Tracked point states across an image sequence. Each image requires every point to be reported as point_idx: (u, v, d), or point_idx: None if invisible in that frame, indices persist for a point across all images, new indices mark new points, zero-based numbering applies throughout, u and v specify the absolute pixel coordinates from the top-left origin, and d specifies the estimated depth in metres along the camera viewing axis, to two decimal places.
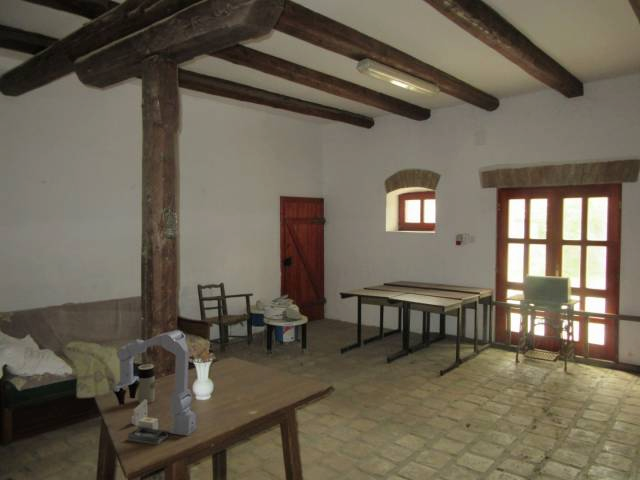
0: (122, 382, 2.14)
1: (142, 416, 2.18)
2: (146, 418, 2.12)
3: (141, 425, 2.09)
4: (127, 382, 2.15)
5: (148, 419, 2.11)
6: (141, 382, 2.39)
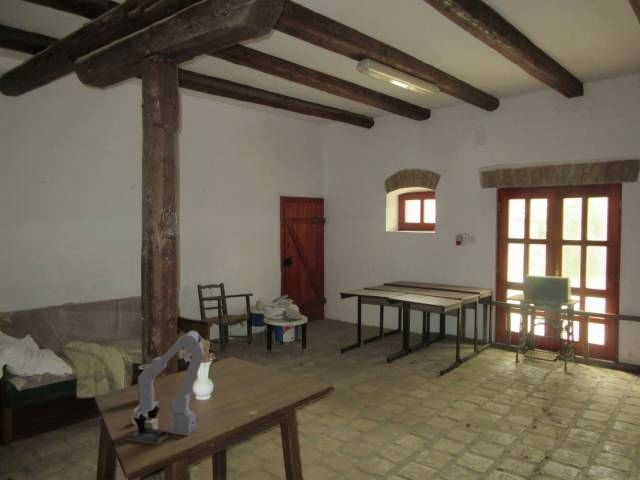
0: (142, 408, 2.06)
1: None
2: (146, 418, 2.12)
3: None
4: (147, 408, 2.06)
5: (148, 419, 2.11)
6: None
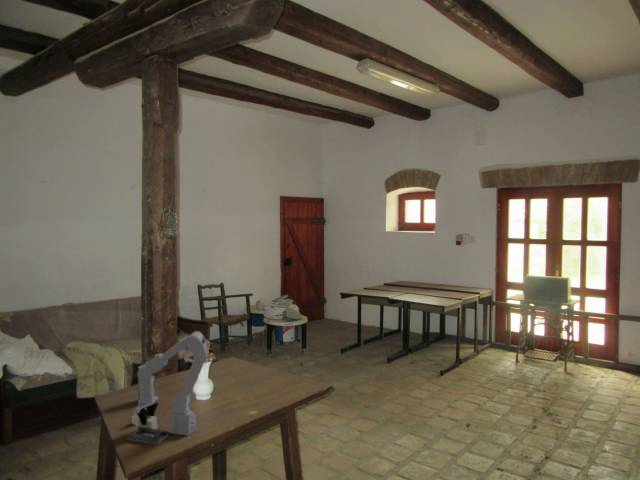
0: (142, 403, 2.06)
1: None
2: None
3: (140, 424, 2.08)
4: (147, 403, 2.06)
5: None
6: None
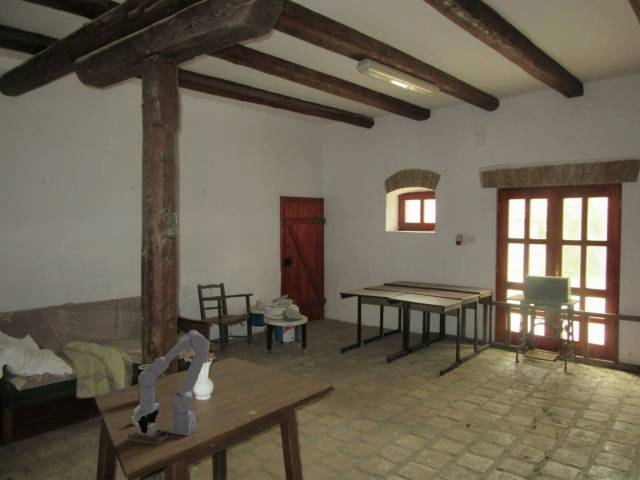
0: (143, 410, 2.00)
1: None
2: None
3: (139, 430, 2.02)
4: (148, 410, 2.00)
5: None
6: None
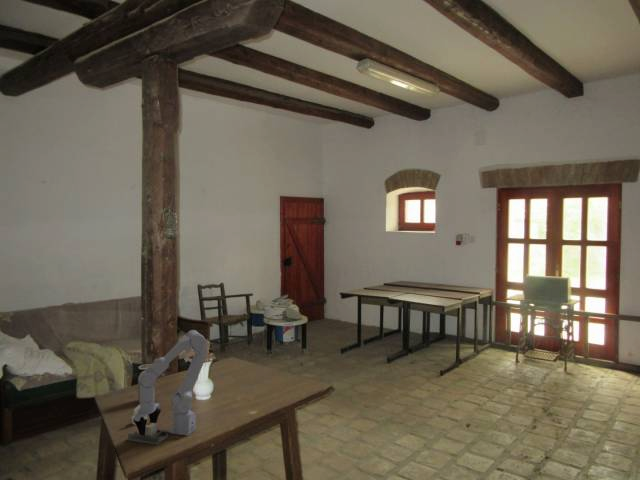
0: (143, 410, 2.00)
1: None
2: None
3: None
4: (148, 410, 2.00)
5: (147, 423, 2.04)
6: None
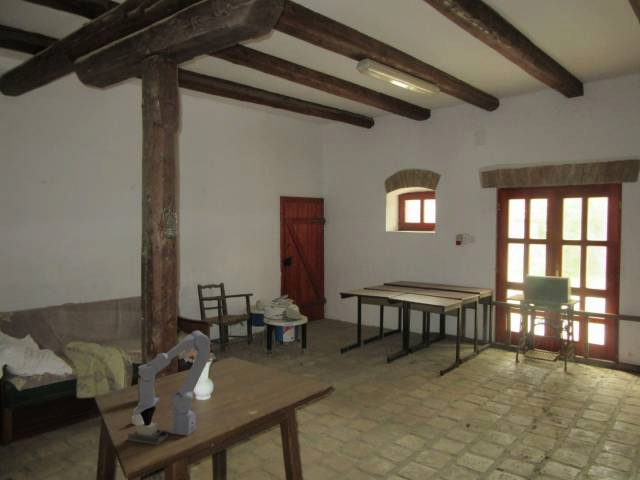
0: (142, 404, 2.00)
1: None
2: None
3: (139, 430, 2.02)
4: (148, 404, 2.00)
5: None
6: None
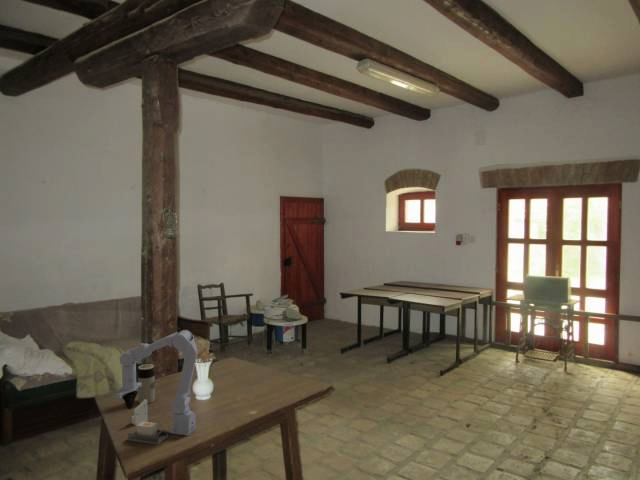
0: (124, 389, 2.07)
1: (142, 416, 2.18)
2: (144, 422, 2.04)
3: (139, 430, 2.02)
4: (130, 389, 2.07)
5: (147, 423, 2.04)
6: (141, 382, 2.39)
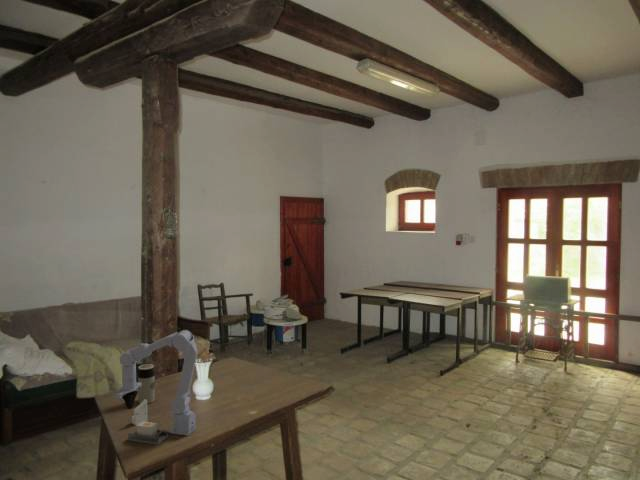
0: (124, 389, 2.07)
1: (142, 416, 2.18)
2: (144, 422, 2.04)
3: (139, 430, 2.02)
4: (130, 389, 2.07)
5: (147, 423, 2.04)
6: (141, 382, 2.39)
